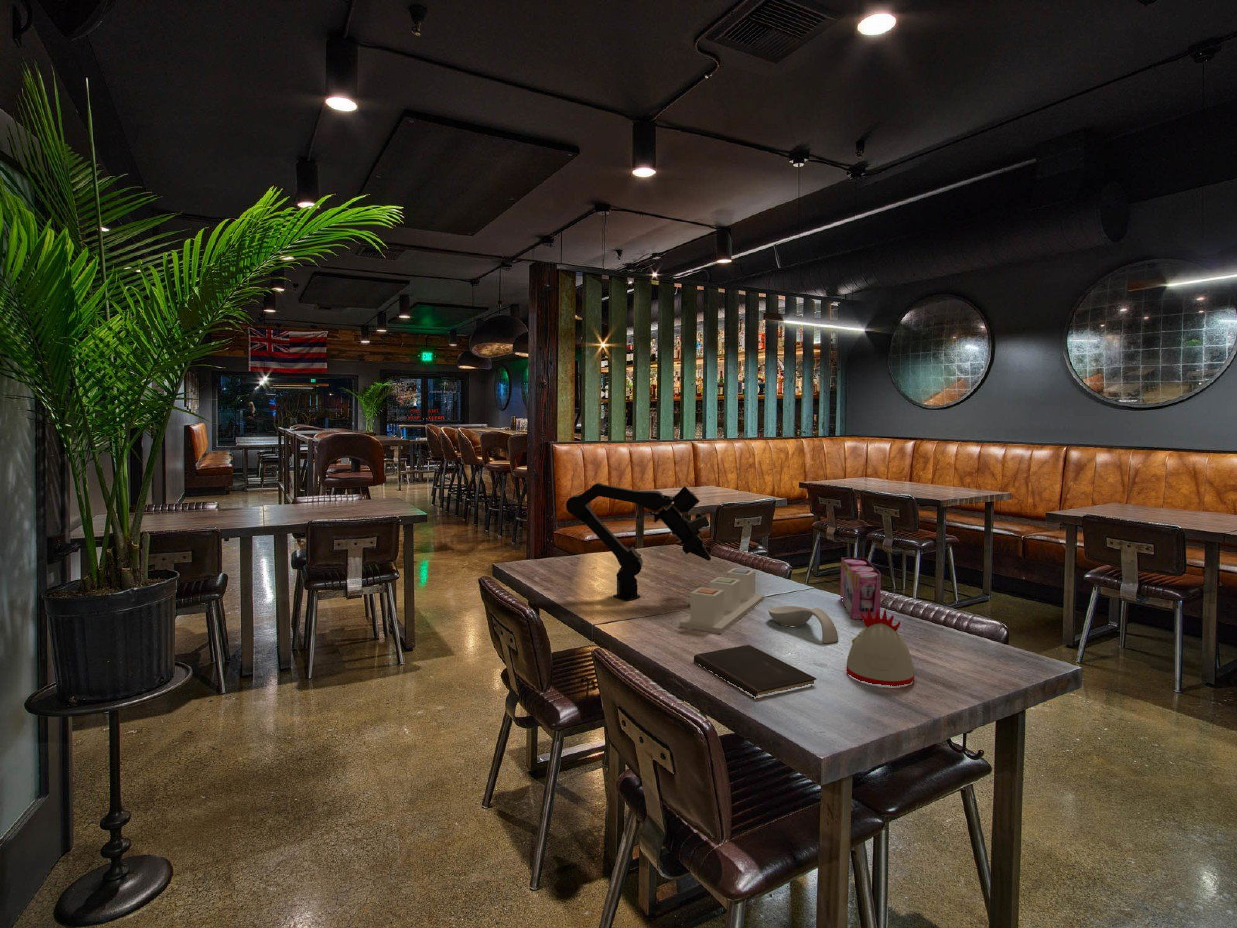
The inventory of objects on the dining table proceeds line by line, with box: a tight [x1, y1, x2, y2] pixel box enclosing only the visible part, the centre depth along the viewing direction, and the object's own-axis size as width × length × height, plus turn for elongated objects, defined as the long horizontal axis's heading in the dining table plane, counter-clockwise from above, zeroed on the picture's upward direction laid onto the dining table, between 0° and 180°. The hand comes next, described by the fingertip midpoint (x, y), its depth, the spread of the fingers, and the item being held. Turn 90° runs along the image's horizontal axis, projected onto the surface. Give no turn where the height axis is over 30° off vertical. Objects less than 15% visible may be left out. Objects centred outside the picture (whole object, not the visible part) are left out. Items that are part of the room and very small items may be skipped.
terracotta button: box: [698, 587, 717, 595], centre depth 176 cm, size 4×4×4 cm
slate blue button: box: [733, 568, 750, 574], centre depth 201 cm, size 4×4×4 cm
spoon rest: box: [767, 605, 840, 644], centre depth 174 cm, size 24×12×7 cm, turn 21°
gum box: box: [840, 556, 882, 620], centre depth 192 cm, size 24×8×14 cm, turn 169°
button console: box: [679, 567, 765, 634], centre depth 189 cm, size 12×38×10 cm, turn 150°
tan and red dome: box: [845, 608, 915, 686], centre depth 141 cm, size 14×14×15 cm
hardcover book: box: [693, 644, 817, 697], centre depth 143 cm, size 16×23×2 cm
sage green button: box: [716, 577, 734, 584], centre depth 188 cm, size 4×4×4 cm
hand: (710, 559), depth 201 cm, fingers closed
